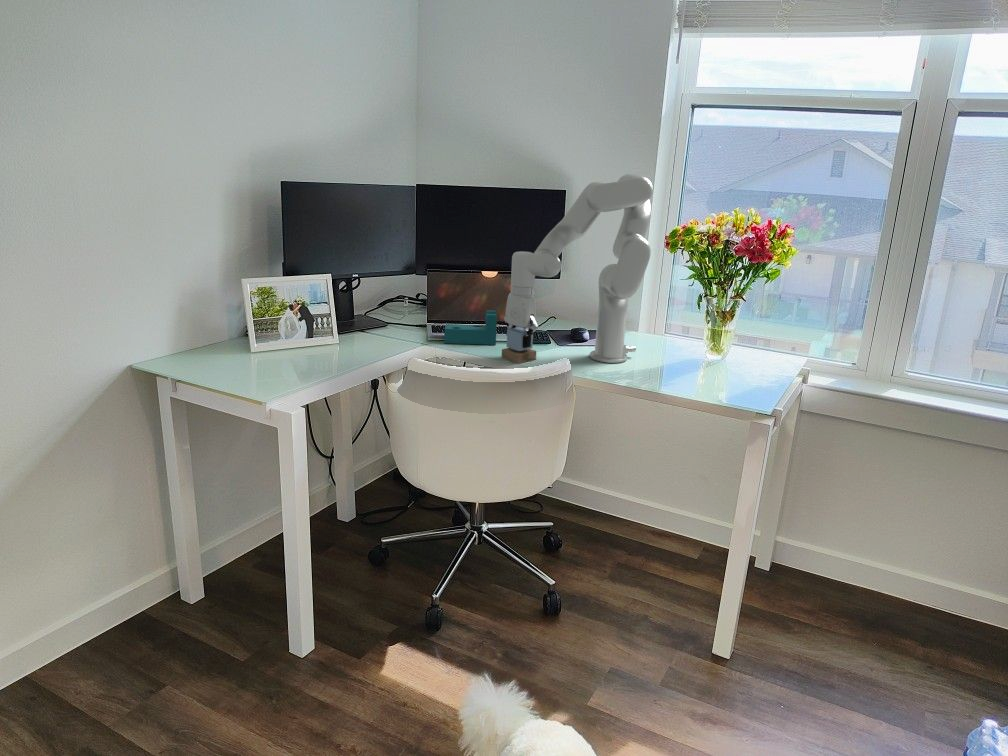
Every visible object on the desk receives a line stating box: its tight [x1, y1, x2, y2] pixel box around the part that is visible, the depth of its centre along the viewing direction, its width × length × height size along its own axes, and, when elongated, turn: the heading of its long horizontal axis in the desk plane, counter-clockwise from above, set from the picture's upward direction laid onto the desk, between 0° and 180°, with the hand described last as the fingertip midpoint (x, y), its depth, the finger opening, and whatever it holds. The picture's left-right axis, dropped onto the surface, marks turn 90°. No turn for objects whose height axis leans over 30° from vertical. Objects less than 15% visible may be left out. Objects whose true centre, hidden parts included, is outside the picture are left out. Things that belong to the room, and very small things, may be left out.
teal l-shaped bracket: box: [443, 310, 498, 346], centre depth 259 cm, size 18×11×10 cm, turn 92°
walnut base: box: [501, 347, 537, 365], centre depth 241 cm, size 8×8×3 cm
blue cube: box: [506, 326, 534, 351], centre depth 240 cm, size 6×6×6 cm
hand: (519, 344), depth 240 cm, fingers closed on blue cube, 5 cm apart
